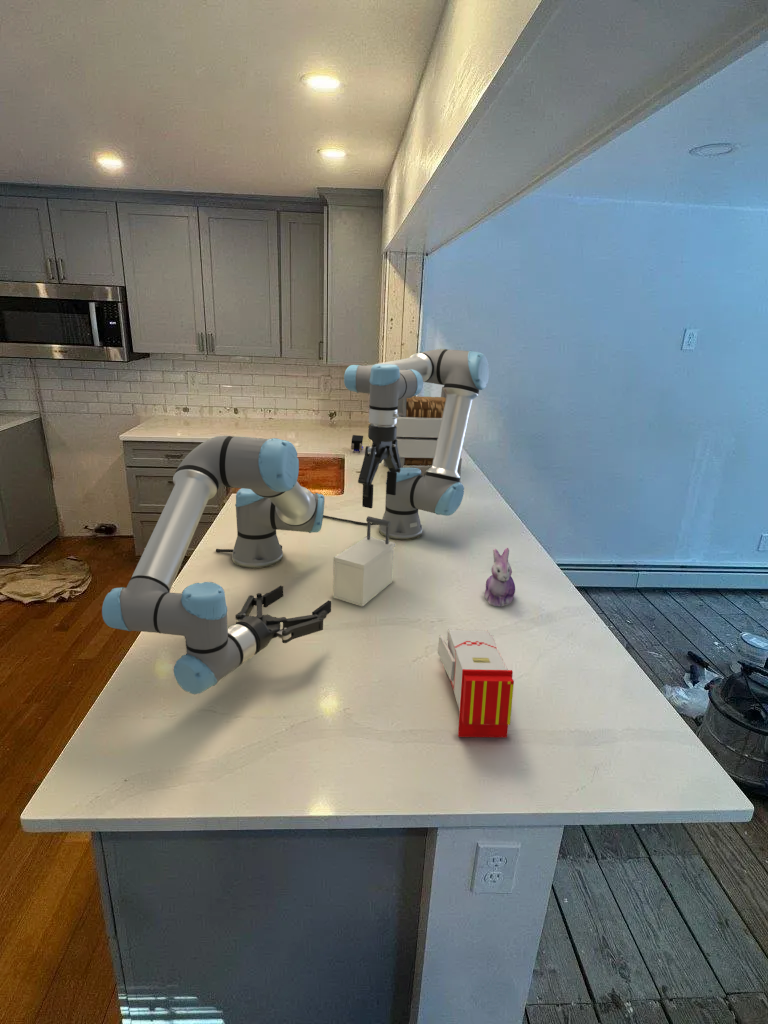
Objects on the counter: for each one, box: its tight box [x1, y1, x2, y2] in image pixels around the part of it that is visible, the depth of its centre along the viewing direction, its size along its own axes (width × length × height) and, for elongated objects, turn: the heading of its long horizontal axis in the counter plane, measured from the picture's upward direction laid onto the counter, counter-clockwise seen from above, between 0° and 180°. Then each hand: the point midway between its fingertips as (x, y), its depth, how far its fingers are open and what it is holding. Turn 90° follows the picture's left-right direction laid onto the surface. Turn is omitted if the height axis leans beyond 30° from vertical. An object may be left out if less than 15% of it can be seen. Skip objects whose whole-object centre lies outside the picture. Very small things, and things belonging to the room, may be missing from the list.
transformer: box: [383, 386, 463, 477], centre depth 268 cm, size 34×33×41 cm
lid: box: [333, 516, 396, 569], centre depth 155 cm, size 18×9×8 cm, turn 152°
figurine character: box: [350, 434, 364, 454], centre depth 311 cm, size 7×8×15 cm
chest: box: [332, 547, 395, 607], centre depth 158 cm, size 17×9×11 cm, turn 152°
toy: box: [437, 628, 515, 738], centre depth 117 cm, size 12×13×30 cm
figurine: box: [484, 547, 516, 607], centre depth 155 cm, size 9×10×15 cm
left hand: (305, 598), depth 133 cm, fingers open, 13 cm apart
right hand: (379, 500), depth 157 cm, fingers open, 13 cm apart
